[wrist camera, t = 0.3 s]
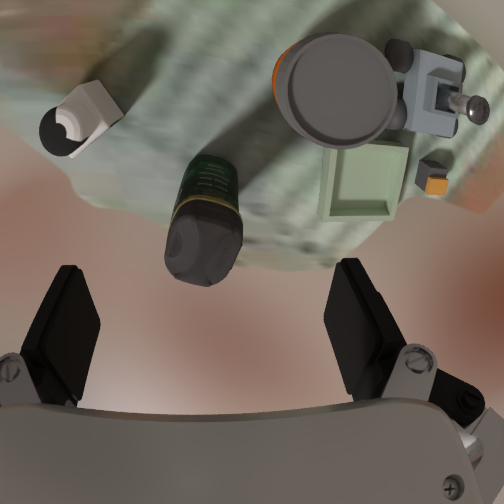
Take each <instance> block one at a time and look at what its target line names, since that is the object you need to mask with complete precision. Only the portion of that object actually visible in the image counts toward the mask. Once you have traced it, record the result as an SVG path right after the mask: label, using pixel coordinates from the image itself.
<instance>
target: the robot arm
mask: <svg viewBox="0 0 504 504" xmlns="http://www.w3.org/2000/svg"><path fill="white" fill-rule="evenodd" d="M324 323H325V326H326V329H327V332H328V335H329V338H330V341H331V344H332V347H333V350H334V353H335V357H336V359H337V362H338V366H339V369H340V372H341V375H342V378H343V382H344V384H345V387H346V391H347V393H348V394H349V395H350V394H352V397H353V400H354V402H348V403H341V404H334V405H327V406H319V407H311V408H302V409H293V410H284V411H273V412H259V413H243V414H218V415H168V414H143V413H127V412H115V411H104V410H95V409H85V408H77V403H78V401H80V400H81V399H82V396H83V392H84V387H85V383H86V379H87V375H88V371H89V367H90V363H91V359H92V355H93V352H94V348H95V345H96V341H97V338H98V334H99V331H100V325H101V324H100V318H99V316H98V313H97V311H96V308H95V306H94V303H93V300H92V298H91V295H90V292H89V289H88V286H87V284H86V281H85V278H84V275H83V272H82V270H81V269H78V267H77V266H76V265H62V266H61V267H60V269H59V271H58V273H57V274H56V276H55V278H54V280H53V282H52V284H51V286H50V288H49V290H48V291H47V293H46V295H45V297H44V299H43V301H42V303H41V305H40V308H39V310H38V312H37V314H36V316H35V318H34V320H33V322H32V324H31V327H30V329H29V331H28V333H27V336H26V338H25V340H24V343H23V345H22V347H21V351H20V354H18V353H14V352H13V353H7V354H5V355H3V356H2V357H0V504H492V503H493V501H494V500H495V498H496V497H497V495H498V493H499V492H500V490H501V488H502V487H503V485H504V419H503V418H502V417H501V416H499V415H498V414H497V413H496V412H495V411H494V410H493V409H492V408H491V407H489V408H488V409H486V408H485V401H484V397H483V395H482V394H481V392H480V391H479V390H478V389H477V388H475V387H474V386H472V385H470V384H468V383H466V382H464V381H462V380H460V379H458V378H456V377H454V376H452V375H450V374H448V373H446V372H444V371H442V370H440V369H438V368H437V360H436V357H435V355H434V354H433V352H432V351H431V350H430V349H429V348H427V347H425V346H423V345H420V344H409V345H407V343H406V341H405V339H404V337H403V335H402V333H401V331H400V329H399V327H398V325H397V324H396V322H395V320H394V318H393V316H392V314H391V312H390V311H389V309H388V306H387V305H386V303H385V301H384V299H383V297H382V296H381V294H380V293H379V292H377V291H376V289H375V287H374V285H373V284H372V282H371V280H370V278H369V276H368V275H367V273H366V271H365V269H364V267H363V266H362V264H361V262H360V261H359V259H358V258H343V259H342V260H341V262H338V263H337V264H336V267H335V272H334V276H333V280H332V284H331V288H330V292H329V296H328V300H327V304H326V308H325V312H324Z"/></svg>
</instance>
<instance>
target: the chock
mask: <svg viewBox="0 0 504 504" xmlns="http://www.w3.org/2000/svg"><path fill="white" fill-rule="evenodd" d="M447 171H448V169H446V168H445V167H444V166H442V165H441V164H439V163H438V162H434V161H425V160H419V165H418V170H417V174H416V179H415V184H416V185H417V186H419V187H420V188H421V189H422V190H423V191H424V192H425V193H427V194H432V195H445V193H446V189H447V185H448V181H449V180H448V179H446V176H447Z"/></svg>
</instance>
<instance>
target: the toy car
mask: <svg viewBox="0 0 504 504" xmlns="http://www.w3.org/2000/svg"><path fill="white" fill-rule="evenodd" d="M384 57H385V58H386V59H387V60H388V62H389V64H390V66H391V68H392V69H393V71H396V72H401V73H405V82H404V91H403V100H402V99H401V98H397V104H396V108H395V112H394V114H393V116H392V118H391V121H390V122H389V124H388V125H387V127H386V128H385V129H390V130H398V131H399V130H401V129H403V127H405V128H407V129H408V130H410V131H415V132H421V133H428V134H434V135H437V136H439V137H444V138H453V137H454V135H455V134H456V132H457V129H458V114H459V112H457V111H454V110H452V109H449V108H447V107H444V106H442V105H439V104H437V103H435V102H436V94H437V87H442V88H445V89H449V90H452V91H455V92H458V93H462V86H463V85H462V83H463V81H464V79H465V75H466V70H465V65H464V63H463V61H462V60H461V59H459V58H457V57H454V56H452V55H448V54H445V55H443V56H441V55H438V54H434V53H431V52H428V51H424V50H421V49H412V47H411V45H410V44H409V43H408V42H406V41H402V40H398V39H391V40H389V41H388V43H387V45H386V48H385V55H384Z"/></svg>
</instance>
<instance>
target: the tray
mask: <svg viewBox="0 0 504 504" xmlns="http://www.w3.org/2000/svg"><path fill="white" fill-rule="evenodd" d="M408 152H409V147H407V146H406V145H404V144H402V143H401V142H395V141H386V140H375V139H373V140H372V141H370V142H369V143H367V144H365V145H362V146H360V147H357V148H352V149H340V150H337V149H331V148H326V147H324V156H323V166H322V176H321V185H320V194H319V203H318V211H317V213H318V215H319V217H320V219H321V221H322V222H343V221H393V220H394V217H395V213H396V209H397V205H398V200H399V196H400V192H401V187H402V182H403V178H404V173H405V168H406V163H407V157H408Z"/></svg>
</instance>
